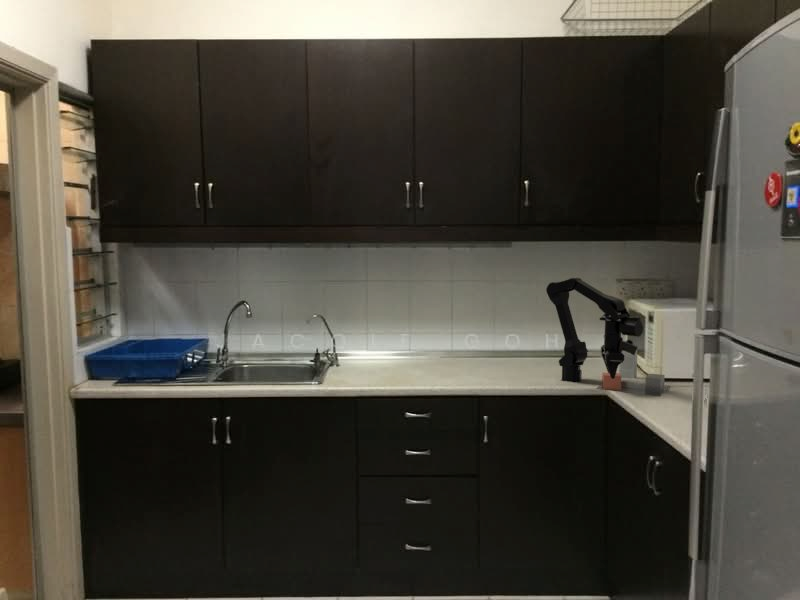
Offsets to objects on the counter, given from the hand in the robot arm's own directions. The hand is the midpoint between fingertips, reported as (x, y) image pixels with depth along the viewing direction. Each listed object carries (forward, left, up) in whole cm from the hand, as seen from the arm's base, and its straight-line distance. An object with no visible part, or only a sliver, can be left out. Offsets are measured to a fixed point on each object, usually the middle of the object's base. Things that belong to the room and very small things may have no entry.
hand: (611, 376), depth 233 cm
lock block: (0, 0, -4) cm, 4 cm away
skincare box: (+1, +24, -5) cm, 25 cm away
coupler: (+7, +5, -5) cm, 10 cm away
